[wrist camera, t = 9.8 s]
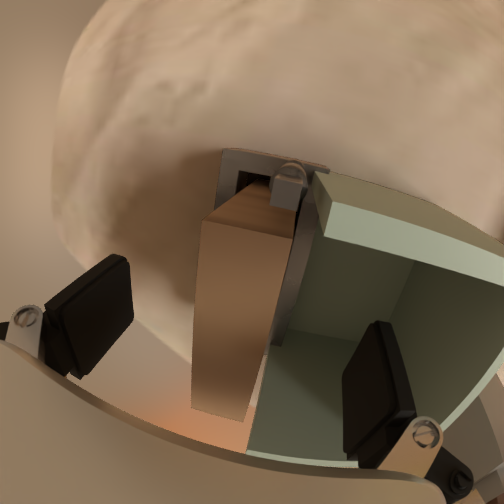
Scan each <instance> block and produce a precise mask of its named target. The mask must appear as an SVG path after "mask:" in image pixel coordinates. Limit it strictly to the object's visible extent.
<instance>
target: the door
mask: <svg viewBox="0 0 504 504" xmlns="http://www.w3.org/2000/svg"><path fill="white" fill-rule="evenodd" d="M269 183H270V181H268V180H263V179H257V180H255V181H254V182H253V183H251V184H250V185H248V186H247V187H246V188H244V189H243V190H242V191H240V192H239V193H237V194H236V195H235V196H233V197H232V198H231V199H229V200H228V201H227V202H225V203H224V204H222V205H221V206H220V207H218V208H217V209H216V210H214V211H213V212H212V213H210V214H209V215H208V216H207V217H205V218H204V219H203V220H202V224H201V234H200V244H199V255H198V266H197V279H196V292H195V307H194V325H193V347H192V381H191V382H192V384H191V408H193V409H196V410H199V411H203V412H206V413H209V414H213V415H216V416H220V417H224V418H228V419H232V420H235V421H240V422H243V421H244V418H245V415H246V412H247V408H248V405H249V402H250V399H251V395H252V392H253V389H254V385H255V382H256V378H257V375H258V371H259V368H260V365H261V361H262V357H263V354H264V350H265V347H266V343H267V340H268V336H269V332H270V329H271V325H272V321H273V317H274V314H275V310H276V306H277V302H278V298H279V294H280V290H281V286H282V282H283V278H284V274H285V270H286V266H287V262H288V258H289V254H290V250H291V245H292V241H293V234H294V224H295V214H296V211H293V210H288V209H284V208H280V207H275V206H270V205H269V204H270V199H271V193H270V189H269Z"/></svg>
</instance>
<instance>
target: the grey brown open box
mask: <svg viewBox="0 0 504 504" xmlns="http://www.w3.org/2000/svg"><path fill="white" fill-rule="evenodd" d="M314 171H317V172H321V173H325V174H329V173H330V169H328V168H327V167H326V166H323V165H319V164H315V163H310V162H306V161H302V160H298V159H292V158H288V157H283V156H278V155H273V154H268V153H262V152H257V151H251V150H245V149H239V148H223V153H222V159H221V166H220V172H219V179H218V186H217V193H216V200H215V207H214V210H216V209H217V208H218V207H220V206H221V205H222V204H224V203H225V202H227V201H228V200H229V199H231V198H232V197H233V196H235V195H236V194H237V193H239V192H240V191H242V190H243V189H244V188H246V184H247V179H248V173H249V172H251V173H257V174H262V175H267V176H272V177H271V179H270V183H269V189H270V193H271V199H270V204H269V205H270V206H275V207H280V208H284V209H288V210H293V211H297V208H298V203H299V202H300V206H299V210H298V215H297V219H296V223H295V228H294V234H293V241H292V245H291V250H290V254H289V258H288V262H287V266H286V270H285V274H284V278H283V282H282V286H281V290H280V294H279V298H278V302H277V306H276V310H275V314H274V317H273V321H272V325H271V329H270V332H269V336H268V340H267V343H266V347H265V350H264V355H267V353H268V350H269V347H270V345H275V346H279V347H281V346H282V343H283V340H284V337H285V334H286V331H287V327H288V324H289V321H290V318H291V315H292V312H293V308H294V305H295V302H296V299H297V295H298V292H299V288H300V285H301V282H302V278H303V275H304V271H305V268H306V264H307V261H308V257H309V253H310V250H311V246H312V242H313V238H314V235H315V231H316V227H317V223H318V219H319V214H318V210H317V206H316V202H315V199H314V195H313V191H312V187H311V185H312V181H313V176H314Z"/></svg>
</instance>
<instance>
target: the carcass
mask: <svg viewBox="0 0 504 504" xmlns="http://www.w3.org/2000/svg"><path fill="white" fill-rule="evenodd" d="M311 187H312V191H313V195H314V199H315V202H316V206H317V210H318V214H319V219H318V223H317V227H316V231H315V235H314V238H313V242H312V246H311V250H310V253H309V257H308V261H307V264H306V268H305V271H304V275H303V278H302V282H301V285H300V288H299V292H298V295H297V299H296V302H295V305H294V308H293V312H292V315H291V318H290V321H289V324H288V327H287V331H286V334H285V337H284V340H283V343H282V346H281V347H279V346H275V345H270V347H269V350H268V353H267V358H266V363H265V368H264V373H263V378H262V383H261V387H260V392H259V397H258V401H257V406H256V410H255V415H254V419H253V424H252V428H251V433H250V437H249V441H248V445H247V449H246V453H245V454H247V455H251V456H256V457H261V458H266V459H272V460H277V461H284V462H290V463H298V464H306V465H315V466H330V467H358V461H347V453H344V452H343V404H342V374H343V371H344V369H345V368H346V366H347V364H348V363H349V361H350V359H351V357H352V355H353V354H354V352H355V350H356V348H357V346H358V345H359V343H360V341H361V339H362V337H363V335H364V333H365V331H366V329H367V327H368V326H369V324H370V323H374V322H375V321H376V320H379V321H384V322H389V323H391V324H392V327H393V330H394V333H395V336H396V339H397V342H398V345H399V348H400V352H401V355H402V358H403V362H404V365H405V368H406V372H407V376H408V379H409V383H410V387H411V391H412V395H413V399H414V403H415V407H416V412H417V417H420V416H426V417H430V418H432V419H434V420H435V421H436V422H437V423H438V424H439V425H440V427H441V429H442V432H443V431H444V430H445V429H446V428H448V427H449V426H450V425H451V424H452V423H453V422H454V421H455V420H456V419H457V418H458V417H459V416H460V415H461V414H462V412H463V411H464V410H465V409H466V408H467V407H468V406H469V405H470V404H471V403H472V402H473V400H474V399H475V398H476V397H477V396H478V395H479V394H480V392H481V391H482V390H483V389H484V388H485V386H486V385H487V384H488V383H489V381H490V380H491V379H492V377H493V376H494V375H495V373H496V372H497V371H498V369H499V368H500V367H501V365H502V364H503V362H504V245H503V244H502V243H500V242H499V241H497V240H496V239H494V238H493V237H491V236H489V235H488V234H486V233H485V232H483V231H481V230H480V229H478V228H477V227H475V226H473V225H472V224H470V223H468V222H466V221H465V220H463V219H461V218H459V217H458V216H456V215H454V214H452V213H450V212H449V211H447V210H445V209H443V208H441V207H439V206H437V205H435V204H432V203H429V202H427V201H424V200H421V199H419V198H416V197H413V196H410V195H407V194H404V193H401V192H398V191H395V190H392V189H389V188H386V187H383V186H380V185H376V184H373V183H370V182H366V181H363V180H360V179H356V178H353V177H349V176H345V175H342V174H338V173H334V172H330V173H329V174H325V173H321V172H317V171H314V176H313V181H312V185H311Z"/></svg>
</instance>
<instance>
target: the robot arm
mask: <svg viewBox="0 0 504 504" xmlns="http://www.w3.org/2000/svg"><path fill="white" fill-rule="evenodd" d="M44 306H45V309H46V311H45V312H44V313H43V312H42V310H41V308H39V307H38V306H35V305H25V306H22V307H20V308H19V309H17V310H16V311H15V312H14V313H13V314H12V316H11V319H10V322H3V323H0V504H486V503H485V502H484V500H483V499H482V497H481V496H480V494H479V492H478V491H477V489H474V490H472V488H473V484H474V477H473V474H472V471H471V470H470V469H469V468H468V467H467V466H466V465H465V464H464V463H462V462H461V461H460V460H459V459H457V458H456V457H455V456H454V455H452V454H451V453H450V452H449V451H447V450H446V449H445V448H444V447H442V446H441V445H442V442H443V432H442V429H441V427H440V425H439V424H438V423H437V422H436V421H435V420H434V419H432V418H430V417H426V416H420V417H417V412H416V407H415V403H414V399H413V395H412V391H411V387H410V383H409V379H408V376H407V372H406V368H405V365H404V362H403V358H402V355H401V352H400V348H399V345H398V342H397V339H396V336H395V333H394V330H393V327H392V324H391V323H389V322H384V321H379V320H376V321H375V322H374V323H370V324H369V326H368V327H367V329H366V331H365V333H364V335H363V337H362V339H361V341H360V343H359V345H358V346H357V348H356V350H355V352H354V354H353V355H352V357H351V359H350V361H349V363H348V364H347V366H346V368H345V369H344V371H343V374H342V404H343V452H344V453H347V461H358V467H359V468H337V467H324V466H314V465H306V464H298V463H290V462H284V461H277V460H272V459H266V458H261V457H256V456H251V455H247V454H243V453H238V452H234V451H230V450H226V449H223V448H219V447H216V446H212V445H209V444H206V443H202V442H199V441H196V440H193V439H190V438H187V437H185V436H182V435H179V434H176V433H174V432H171V431H168V430H166V429H163V428H161V427H158V426H156V425H153V424H151V423H149V422H146V421H144V420H142V419H140V418H138V417H135V416H133V415H131V414H129V413H127V412H125V411H122V410H121V409H119V408H117V407H115V406H113V405H111V404H109V403H107V402H105V401H103V400H101V399H99V398H98V397H96V396H94V395H92V394H91V393H89V392H87V391H86V390H84V389H82V388H81V387H79V386H77V385H76V384H74V383H73V382H71V381H69V380H68V379H67V374H68V373H69V372H70V374H71V375H73V376H75V377H76V378H78V379H79V380H81V379H82V377H83V376H84V375H88V374H89V373H90V372H91V371H92V369H93V368H94V367H95V366H96V364H97V363H98V362H99V361H100V360H101V358H102V357H103V356H104V355H105V354H106V352H107V351H108V350H109V349H110V348H111V346H112V345H113V344H114V343H115V341H116V340H117V339H118V338H119V337H120V336H121V335H122V333H123V332H124V331H125V330H126V329H127V328H128V326H129V325H130V324H131V323H132V321H133V318H134V310H133V301H132V290H131V278H130V265H129V262H127V259H126V258H125V257H123V256H120V255H117V254H111V255H109V256H108V257H106V258H105V259H104V260H102V261H101V262H99V263H98V264H97V265H95V266H94V267H92V268H91V269H90V270H88V271H87V272H86V273H84V274H83V275H82V276H80V277H79V278H78V279H76V280H75V281H74V282H72V283H71V284H70V285H68V286H67V287H66V288H65V289H63V290H62V291H61V292H59V293H58V294H57V295H55V296H54V297H53V298H52V299H51V300H49V301H48V302H47V303H46V304H44Z"/></svg>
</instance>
